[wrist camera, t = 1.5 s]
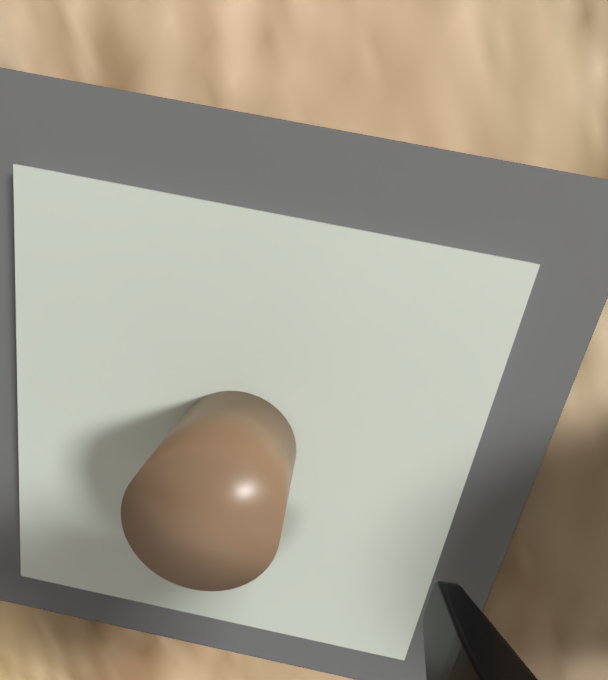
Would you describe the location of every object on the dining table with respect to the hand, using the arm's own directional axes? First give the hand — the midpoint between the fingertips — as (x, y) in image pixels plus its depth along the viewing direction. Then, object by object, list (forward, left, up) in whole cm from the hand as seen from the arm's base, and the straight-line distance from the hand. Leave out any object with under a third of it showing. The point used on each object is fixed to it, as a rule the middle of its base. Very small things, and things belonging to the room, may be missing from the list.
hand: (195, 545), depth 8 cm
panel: (0, 0, -4) cm, 4 cm away
